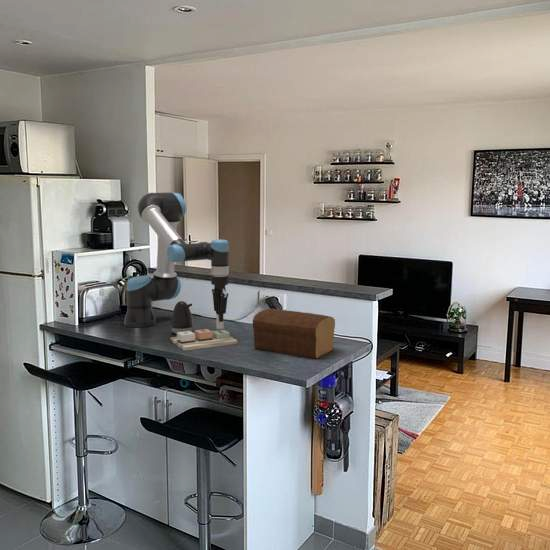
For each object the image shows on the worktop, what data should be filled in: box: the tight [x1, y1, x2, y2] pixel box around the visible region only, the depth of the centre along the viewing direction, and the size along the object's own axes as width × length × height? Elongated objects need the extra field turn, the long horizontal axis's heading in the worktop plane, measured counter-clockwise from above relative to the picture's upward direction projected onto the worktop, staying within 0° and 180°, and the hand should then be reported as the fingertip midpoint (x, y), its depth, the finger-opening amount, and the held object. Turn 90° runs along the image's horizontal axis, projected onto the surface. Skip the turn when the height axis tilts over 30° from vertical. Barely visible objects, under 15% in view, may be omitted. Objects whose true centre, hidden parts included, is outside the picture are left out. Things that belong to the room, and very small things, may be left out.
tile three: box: [211, 329, 231, 339], centre depth 254 cm, size 6×6×3 cm
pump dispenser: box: [170, 300, 194, 335], centre depth 265 cm, size 10×10×15 cm
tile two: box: [194, 328, 213, 339], centre depth 250 cm, size 6×6×3 cm
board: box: [169, 336, 238, 351], centre depth 251 cm, size 18×24×2 cm
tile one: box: [176, 330, 195, 342], centre depth 247 cm, size 6×6×3 cm
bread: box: [252, 308, 336, 359], centre depth 239 cm, size 18×30×16 cm, turn 58°
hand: (219, 328), depth 254 cm, fingers closed
